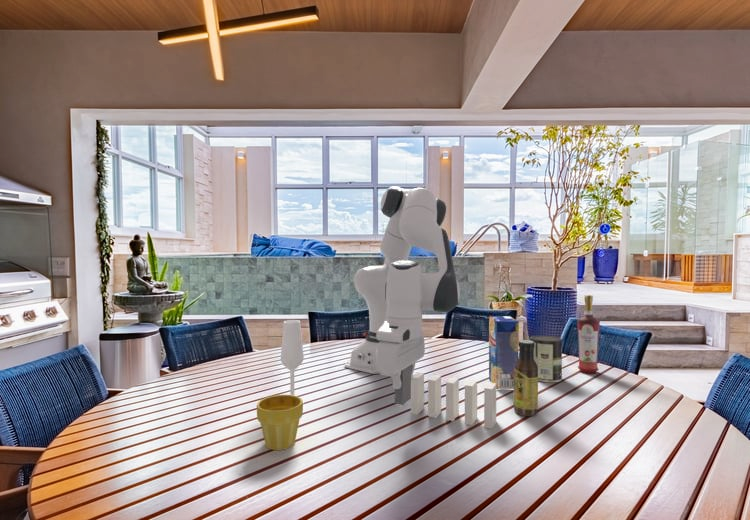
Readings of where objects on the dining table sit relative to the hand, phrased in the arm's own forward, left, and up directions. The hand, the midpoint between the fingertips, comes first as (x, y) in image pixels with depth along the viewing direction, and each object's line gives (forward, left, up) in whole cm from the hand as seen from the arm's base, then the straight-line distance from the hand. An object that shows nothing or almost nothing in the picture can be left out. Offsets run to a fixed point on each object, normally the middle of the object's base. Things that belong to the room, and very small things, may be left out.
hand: (403, 384), depth 102 cm
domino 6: (+18, +15, -12) cm, 26 cm away
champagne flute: (-37, +4, -12) cm, 39 cm away
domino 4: (+8, +15, -12) cm, 21 cm away
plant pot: (-23, -18, -12) cm, 32 cm away
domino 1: (0, 0, -4) cm, 4 cm away
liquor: (+40, +78, -12) cm, 89 cm away
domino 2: (-2, +15, -12) cm, 19 cm away
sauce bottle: (+25, +27, -12) cm, 39 cm away
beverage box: (+15, +49, -12) cm, 53 cm away
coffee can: (+27, +63, -12) cm, 70 cm away
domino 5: (+13, +15, -12) cm, 23 cm away
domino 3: (+3, +15, -12) cm, 20 cm away
